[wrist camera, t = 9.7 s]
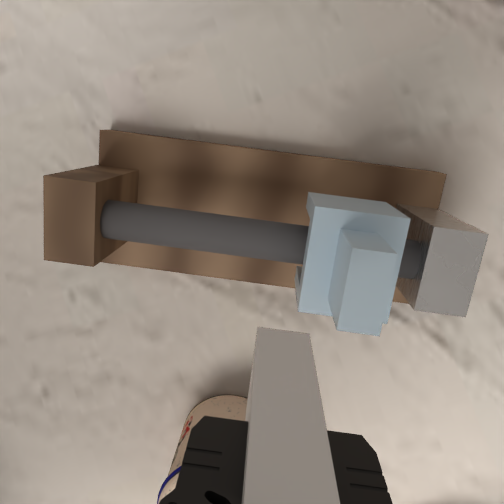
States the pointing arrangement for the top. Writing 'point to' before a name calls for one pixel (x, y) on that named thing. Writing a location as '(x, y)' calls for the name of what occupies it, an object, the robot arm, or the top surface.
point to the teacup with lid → (211, 407)
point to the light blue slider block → (351, 261)
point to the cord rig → (246, 215)
